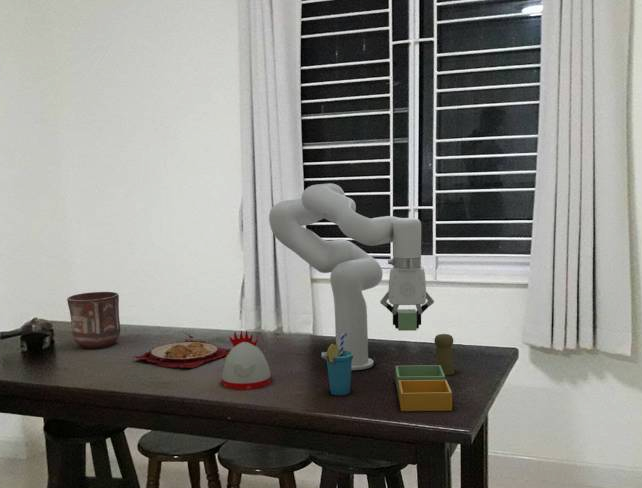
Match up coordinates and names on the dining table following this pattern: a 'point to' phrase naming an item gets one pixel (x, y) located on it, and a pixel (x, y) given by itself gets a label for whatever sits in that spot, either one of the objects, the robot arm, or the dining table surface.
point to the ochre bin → (424, 395)
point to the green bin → (419, 373)
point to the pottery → (95, 319)
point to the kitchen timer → (245, 365)
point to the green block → (407, 320)
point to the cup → (339, 368)
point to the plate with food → (184, 354)
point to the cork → (444, 353)
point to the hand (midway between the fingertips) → (406, 326)
